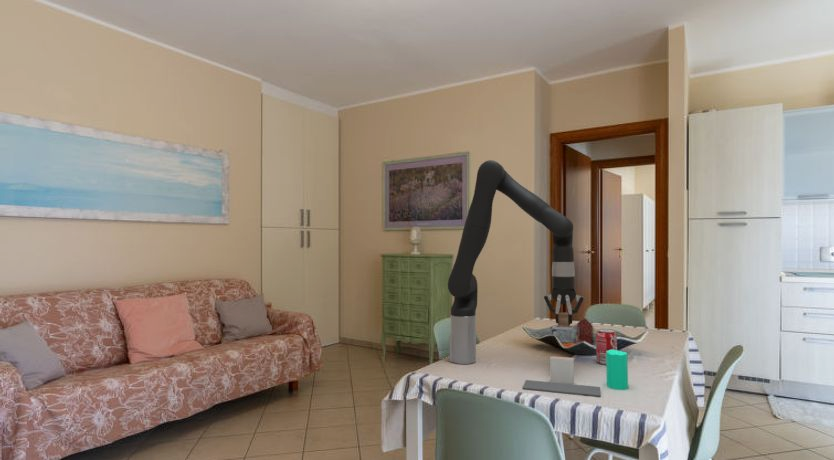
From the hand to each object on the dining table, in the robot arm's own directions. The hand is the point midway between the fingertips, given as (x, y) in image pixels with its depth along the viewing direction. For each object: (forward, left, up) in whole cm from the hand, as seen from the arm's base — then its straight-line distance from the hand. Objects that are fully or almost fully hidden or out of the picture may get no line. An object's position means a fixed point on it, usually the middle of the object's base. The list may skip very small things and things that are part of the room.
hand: (564, 324), depth 162 cm
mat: (0, -22, -16) cm, 27 cm away
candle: (+16, -14, -16) cm, 27 cm away
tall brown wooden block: (0, -2, -1) cm, 2 cm away
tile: (0, -16, -16) cm, 22 cm away
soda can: (+14, +14, -16) cm, 25 cm away
